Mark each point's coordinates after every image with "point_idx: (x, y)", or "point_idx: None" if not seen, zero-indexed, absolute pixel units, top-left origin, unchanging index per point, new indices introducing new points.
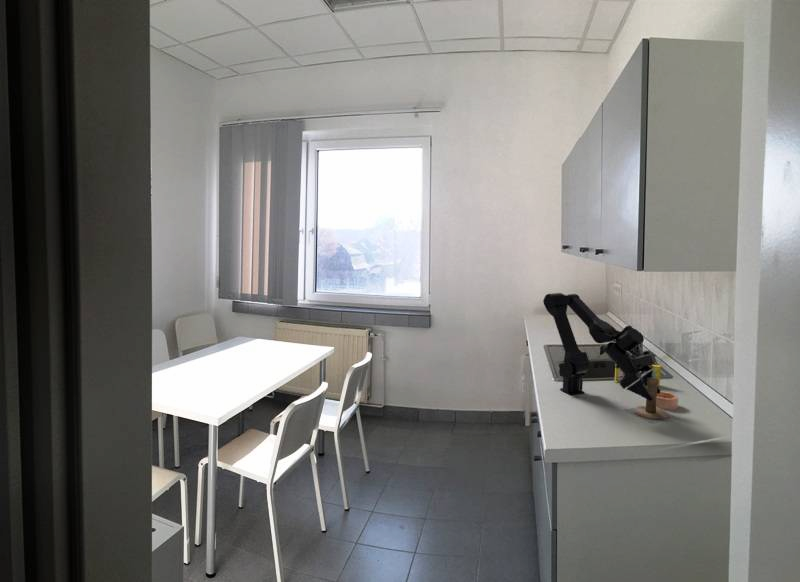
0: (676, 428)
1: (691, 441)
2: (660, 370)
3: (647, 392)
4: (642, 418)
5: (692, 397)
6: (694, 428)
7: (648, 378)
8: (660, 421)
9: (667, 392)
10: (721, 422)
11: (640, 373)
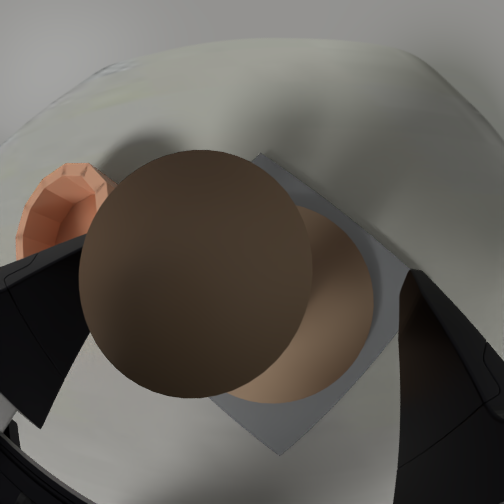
0: (398, 171)
1: (485, 132)
2: None
3: (472, 324)
4: (380, 339)
5: (4, 168)
6: (344, 107)
7: (206, 373)
8: (374, 241)
9: (20, 220)
10: (208, 49)
11: (22, 479)
